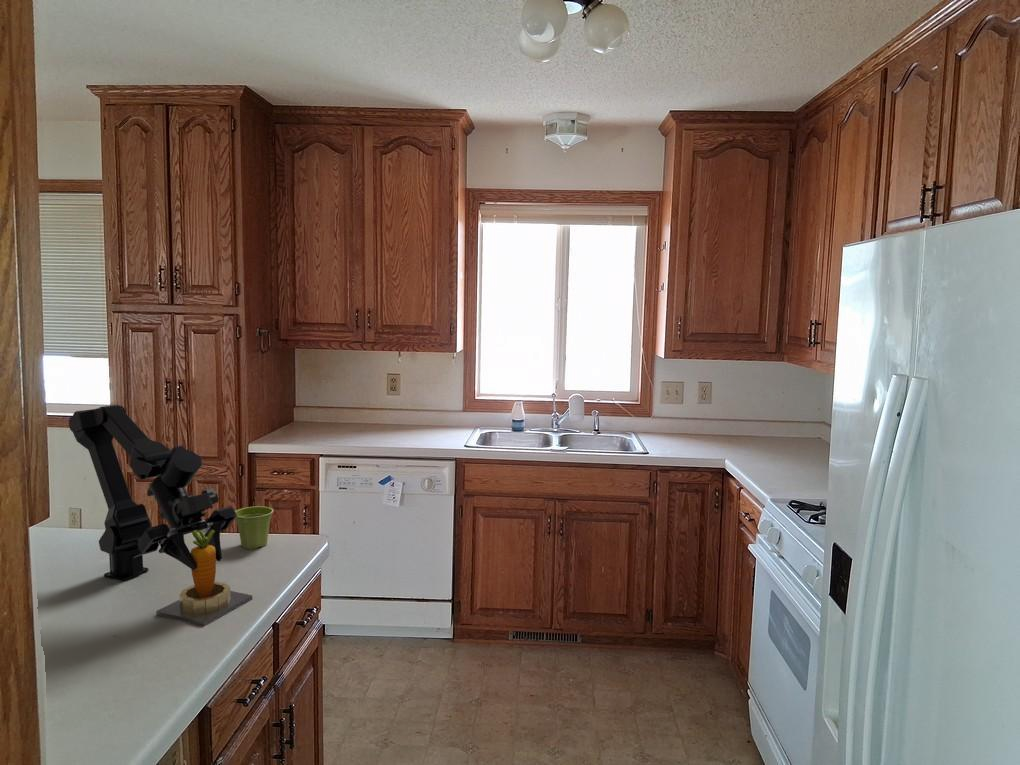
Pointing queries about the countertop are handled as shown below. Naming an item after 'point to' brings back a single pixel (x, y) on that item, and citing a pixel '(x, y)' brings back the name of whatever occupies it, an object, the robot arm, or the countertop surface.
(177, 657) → the countertop surface
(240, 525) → the plant pot
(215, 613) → the collar plate
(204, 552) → the carrot
